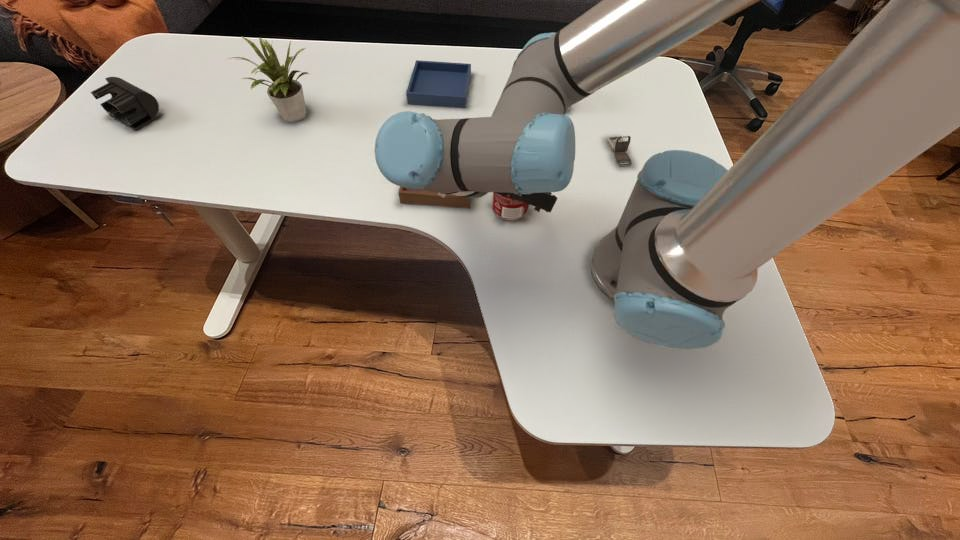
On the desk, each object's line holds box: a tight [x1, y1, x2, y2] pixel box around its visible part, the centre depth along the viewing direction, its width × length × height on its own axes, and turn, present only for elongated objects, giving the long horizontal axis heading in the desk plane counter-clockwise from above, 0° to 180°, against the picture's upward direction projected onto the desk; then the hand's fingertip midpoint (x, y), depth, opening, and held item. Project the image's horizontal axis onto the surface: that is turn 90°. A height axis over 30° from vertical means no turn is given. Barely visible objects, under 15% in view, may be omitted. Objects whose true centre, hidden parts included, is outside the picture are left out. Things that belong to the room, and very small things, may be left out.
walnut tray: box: [397, 186, 472, 209], centre depth 84 cm, size 13×13×3 cm
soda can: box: [491, 192, 530, 221], centre depth 76 cm, size 7×7×12 cm
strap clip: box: [606, 135, 632, 167], centre depth 89 cm, size 8×3×4 cm, turn 8°
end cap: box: [90, 76, 160, 132], centre depth 92 cm, size 10×7×7 cm
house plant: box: [227, 36, 310, 123], centre depth 89 cm, size 14×14×16 cm
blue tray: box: [405, 59, 472, 109], centre depth 101 cm, size 13×13×3 cm
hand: (512, 183), depth 76 cm, fingers open, 13 cm apart
